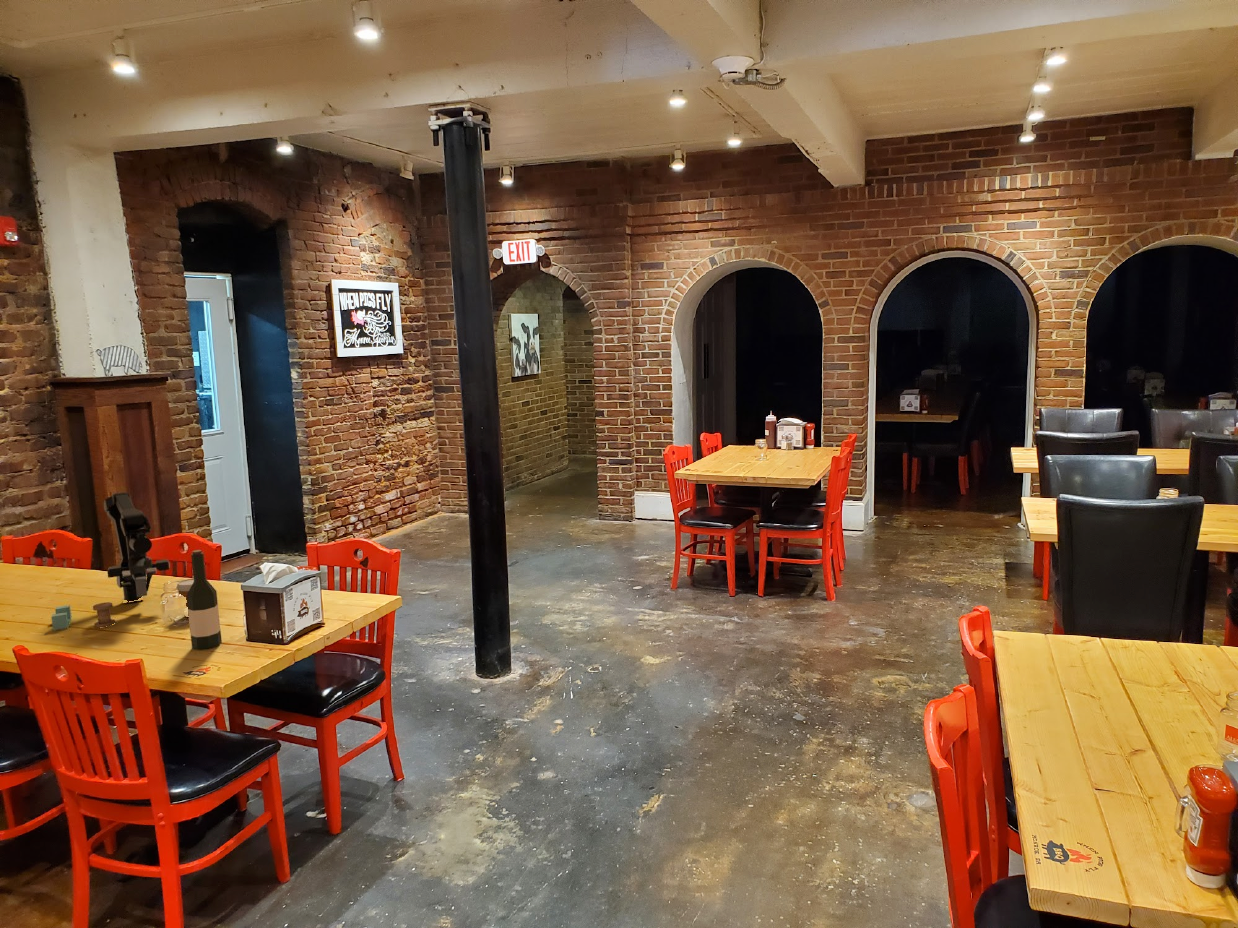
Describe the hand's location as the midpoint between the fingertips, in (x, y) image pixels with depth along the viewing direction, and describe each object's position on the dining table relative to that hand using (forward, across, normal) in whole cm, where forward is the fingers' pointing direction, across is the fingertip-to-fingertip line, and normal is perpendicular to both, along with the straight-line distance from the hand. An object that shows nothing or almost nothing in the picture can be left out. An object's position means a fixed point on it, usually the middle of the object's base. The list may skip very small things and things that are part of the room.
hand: (141, 591), depth 293 cm
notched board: (+7, -24, -2) cm, 25 cm away
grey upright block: (+1, 0, 0) cm, 1 cm away
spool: (+7, -11, -11) cm, 17 cm away
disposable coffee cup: (+7, +16, -16) cm, 24 cm away
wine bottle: (+7, +19, -52) cm, 56 cm away
